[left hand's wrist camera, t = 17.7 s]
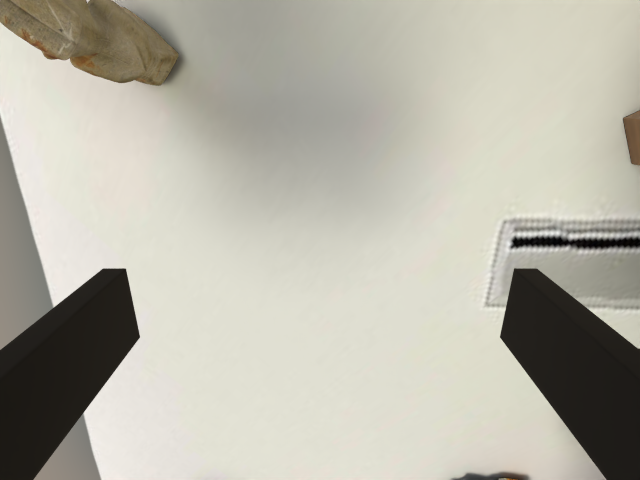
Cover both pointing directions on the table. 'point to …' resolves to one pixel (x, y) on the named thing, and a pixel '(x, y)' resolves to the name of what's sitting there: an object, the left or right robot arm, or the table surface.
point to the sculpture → (92, 37)
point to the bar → (633, 136)
